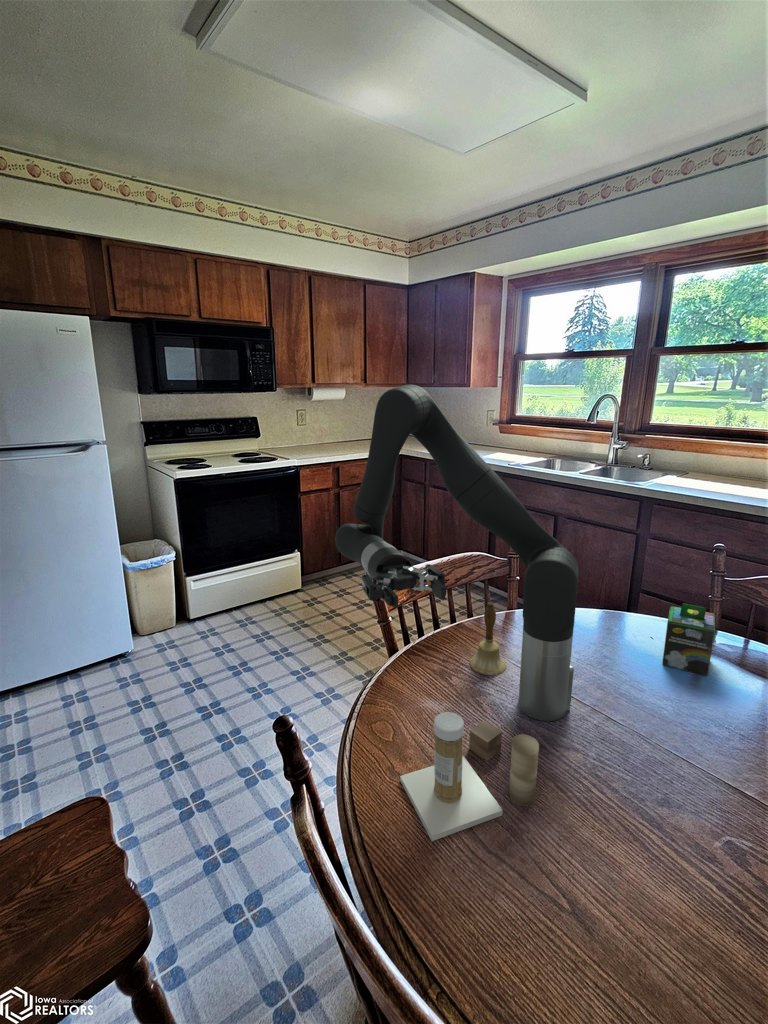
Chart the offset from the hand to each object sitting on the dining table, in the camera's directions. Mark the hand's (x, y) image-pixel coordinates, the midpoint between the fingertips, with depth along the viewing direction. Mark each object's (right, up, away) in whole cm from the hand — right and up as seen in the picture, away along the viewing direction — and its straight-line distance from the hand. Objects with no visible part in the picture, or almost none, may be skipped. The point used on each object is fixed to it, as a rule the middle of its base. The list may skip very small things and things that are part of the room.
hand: (420, 598), depth 82 cm
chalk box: (+64, -21, +34) cm, 75 cm away
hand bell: (+18, -22, +34) cm, 44 cm away
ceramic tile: (+4, -32, -2) cm, 32 cm away
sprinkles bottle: (+4, -31, -2) cm, 31 cm away
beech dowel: (+16, -31, -2) cm, 35 cm away
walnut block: (+12, -29, +8) cm, 32 cm away
